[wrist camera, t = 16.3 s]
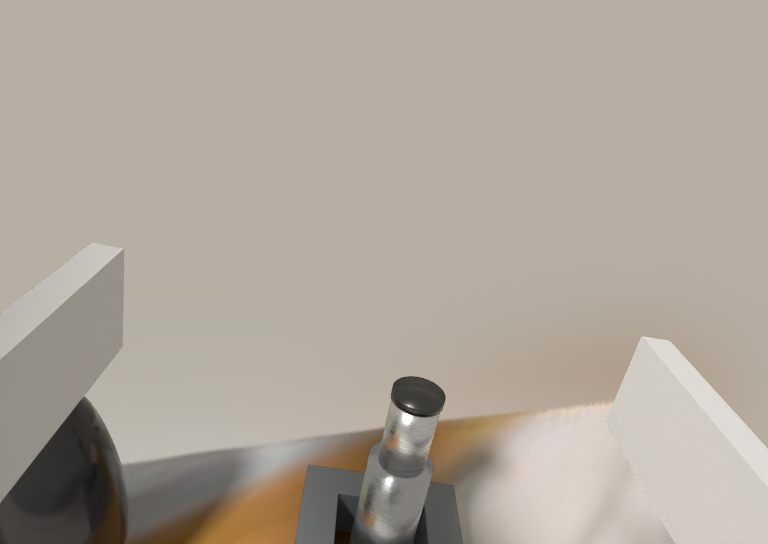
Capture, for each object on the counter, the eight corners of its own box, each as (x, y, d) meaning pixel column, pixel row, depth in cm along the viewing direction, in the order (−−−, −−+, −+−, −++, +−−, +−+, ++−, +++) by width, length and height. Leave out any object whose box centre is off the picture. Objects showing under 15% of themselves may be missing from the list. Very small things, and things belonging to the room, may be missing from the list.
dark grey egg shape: (160, 537, 42) (169, 364, 36) (54, 677, 33) (43, 473, 27) (39, 494, 44) (28, 320, 38) (-96, 616, 34) (-138, 409, 28)
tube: (341, 599, 41) (385, 408, 34) (344, 546, 45) (384, 367, 38) (402, 606, 41) (457, 419, 35) (400, 554, 45) (449, 377, 39)
